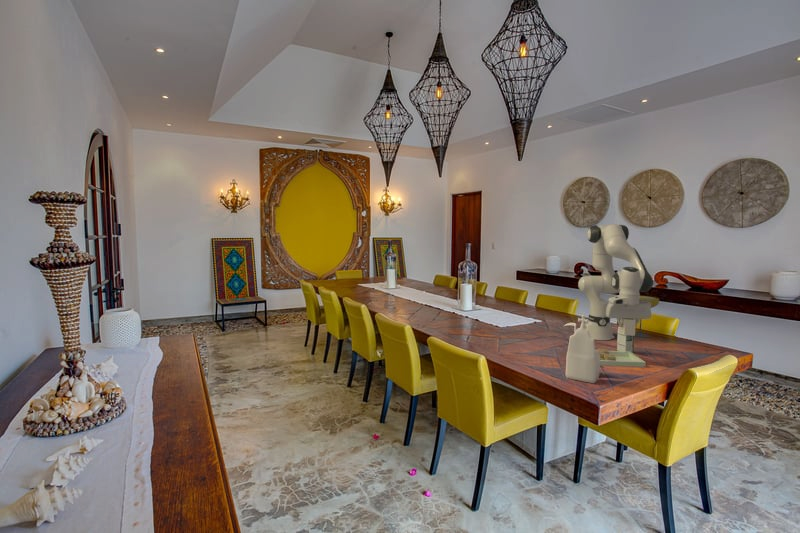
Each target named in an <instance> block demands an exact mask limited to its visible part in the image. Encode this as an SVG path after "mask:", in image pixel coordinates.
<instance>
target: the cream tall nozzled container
mask: <svg viewBox="0 0 800 533" xmlns="http://www.w3.org/2000/svg"><path fill="white" fill-rule="evenodd" d="M580 322H581V323H580ZM577 323H580V327H579V328H577ZM577 323H575V322H568V323H566V324H565V325H563V327H566V326H572V327H574V328H573V329H574V330H573V331H574V333H573V334H572V335H570V336H569V340H568V341H569V342H568V347H567V352H566V359H565V360H566V362H565V363H566V364H565V378H566V379H568V378H569V380H574V381H580V382H584V383H589V384H595V383H596V382H597V381H598V379H599V378H600V367H601V366H600V355H599V354H598V353H599V351H598V349H596V346H595V345H596V344H595V343H596V342H595V341H596V340H594V339H593V338H591V336H590V334H589V331H588V330H587V329H585V323H588V318H587V319H586V315H584V314H583V315H581V318H580V317H578V318H577Z"/></svg>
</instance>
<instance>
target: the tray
mask: <svg viewBox="0 0 800 533" xmlns="http://www.w3.org/2000/svg"><path fill="white" fill-rule="evenodd" d="M608 351H609V354H613V355H614V356H615V357H616V361H613V360H600V366H599V367H603V366H604V367H622V368H623V367H626V368H627V367H628V368H629V367H630V368H647V362H646V361H644V359H641V357H639V356H637V355H636V354H635V353H634V352H633V353H632V352H627V351H618V350H608Z"/></svg>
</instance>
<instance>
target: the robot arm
mask: <svg viewBox="0 0 800 533" xmlns="http://www.w3.org/2000/svg"><path fill="white" fill-rule="evenodd" d="M629 235H630V232H629V228H628V227H627V226H626V225H623V224H617V223H616V224H615V223H612V224H600V225H597V224H595V225H591V226H590V227H588V229H587V233H586V236H587V241H589V243H592V244H593V246H592V256H591V257H592V258H591V266H592V267H593V268H594V269H596V270H597V271H600V272H601V275H586V276H582V277H580V278H579V280H578V283H577V284H578V285H577V287H578V289H579V291H580V292H581V293H583V294H584V295H585V296H586V297H587V300H588V302H589V314H588V317H587V319H588V323H586V322H585V323H584V324H585V329H587V330H588V331H589V334H590V336H591V338H593V339H594V341H610V340H612V339H615V336H614V335H613V324H611V323H610V322H611V319H616V321H617V323H618V327H623V324H622V323H621V318H625V319H635V320H636V326H635V329H636V328H638V324H640V319H642V320H650V319H651V318H652V310H651V302H650V301H648V300H639V298H640V295H641V294H640V293H646V292H648V291H650V290H651V289H652V288H653V286H654V280H653V277H652V275H651V274H650V273H649V271H648V270H647V268H646V266H645V264H644V262H643V259H642V258H641V256H640V253H639V252H638V251H637V249H636V248H634V247H632V246H631V245H630V244H629V242H628V239H629V237H630V236H629ZM613 258H615V259H620V260H624V261H626V262H628V263H630V264H631V265H632V266H624V267H622V268H621V271H618V272H615V269H614V266H613ZM618 293H619V295H616V296H613V297H609V298H608V301H607V300H605V299H604V298H602V297H601V294H604V295H605V294H607V295H609V294H611V295H614V294H618Z"/></svg>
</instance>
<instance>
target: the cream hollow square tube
mask: <svg viewBox="0 0 800 533" xmlns="http://www.w3.org/2000/svg"><path fill="white" fill-rule="evenodd" d="M620 322H621V323H622V324H623V327H620V333H621V334H623V335H630V336H634V337H635V333H636V327H635V326H636V320H635V319H625V318H621V320H620Z"/></svg>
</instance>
